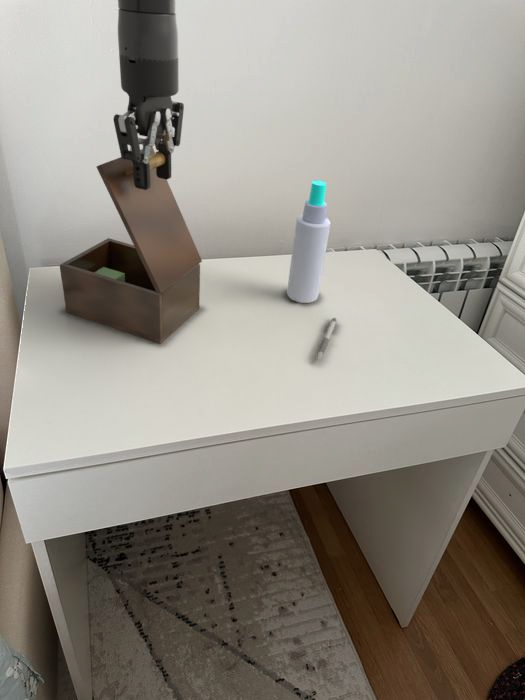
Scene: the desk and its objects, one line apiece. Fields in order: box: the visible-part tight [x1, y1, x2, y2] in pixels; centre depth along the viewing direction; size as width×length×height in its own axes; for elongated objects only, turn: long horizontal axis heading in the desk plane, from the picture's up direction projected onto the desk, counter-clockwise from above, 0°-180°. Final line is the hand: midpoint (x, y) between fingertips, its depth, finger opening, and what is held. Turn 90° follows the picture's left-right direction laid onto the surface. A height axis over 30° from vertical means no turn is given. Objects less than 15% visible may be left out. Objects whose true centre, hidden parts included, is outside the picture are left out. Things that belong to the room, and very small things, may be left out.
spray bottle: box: [286, 180, 331, 304], centre depth 97 cm, size 6×6×22 cm
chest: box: [59, 237, 201, 345], centre depth 91 cm, size 19×13×9 cm
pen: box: [316, 317, 337, 362], centre depth 90 cm, size 1×14×1 cm, turn 162°
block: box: [94, 267, 125, 282], centre depth 93 cm, size 4×4×4 cm
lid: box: [95, 146, 203, 294], centre depth 81 cm, size 20×13×5 cm
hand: (153, 182), depth 79 cm, fingers closed on lid, 5 cm apart
